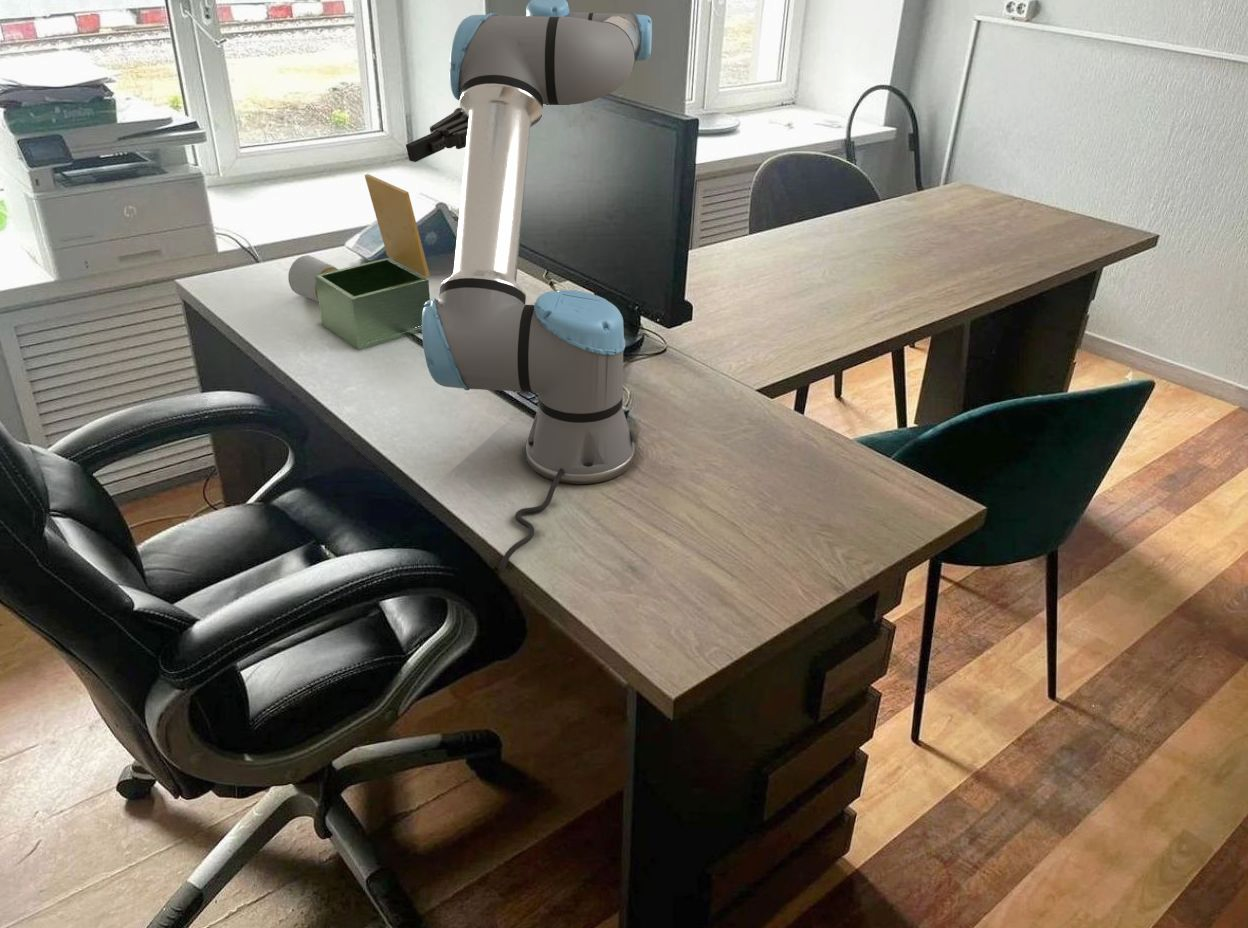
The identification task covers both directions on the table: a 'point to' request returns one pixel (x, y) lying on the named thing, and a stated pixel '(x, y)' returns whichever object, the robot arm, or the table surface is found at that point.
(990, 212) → the table surface
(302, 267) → the ceramic mug
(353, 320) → the tea tin
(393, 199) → the lid
